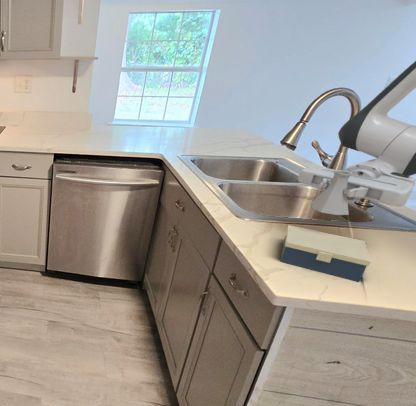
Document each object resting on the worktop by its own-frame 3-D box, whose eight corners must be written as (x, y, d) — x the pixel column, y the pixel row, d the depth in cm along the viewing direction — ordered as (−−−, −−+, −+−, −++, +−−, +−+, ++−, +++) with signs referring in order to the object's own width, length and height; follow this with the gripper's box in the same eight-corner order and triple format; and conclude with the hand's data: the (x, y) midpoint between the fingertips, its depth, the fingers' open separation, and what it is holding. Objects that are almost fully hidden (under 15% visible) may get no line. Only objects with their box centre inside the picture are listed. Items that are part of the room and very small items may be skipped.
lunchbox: (355, 260, 90) (364, 240, 88) (360, 283, 81) (370, 262, 79) (281, 242, 98) (288, 224, 96) (279, 262, 90) (286, 242, 88)
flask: (317, 214, 88) (332, 175, 85) (304, 203, 95) (316, 166, 91) (355, 217, 86) (371, 177, 82) (338, 205, 92) (353, 168, 89)
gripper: (318, 158, 101) (289, 166, 95) (426, 180, 83) (398, 191, 78) (310, 180, 103) (282, 189, 98) (414, 205, 86) (386, 217, 81)
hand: (334, 190), depth 88 cm, fingers closed on flask, 3 cm apart
